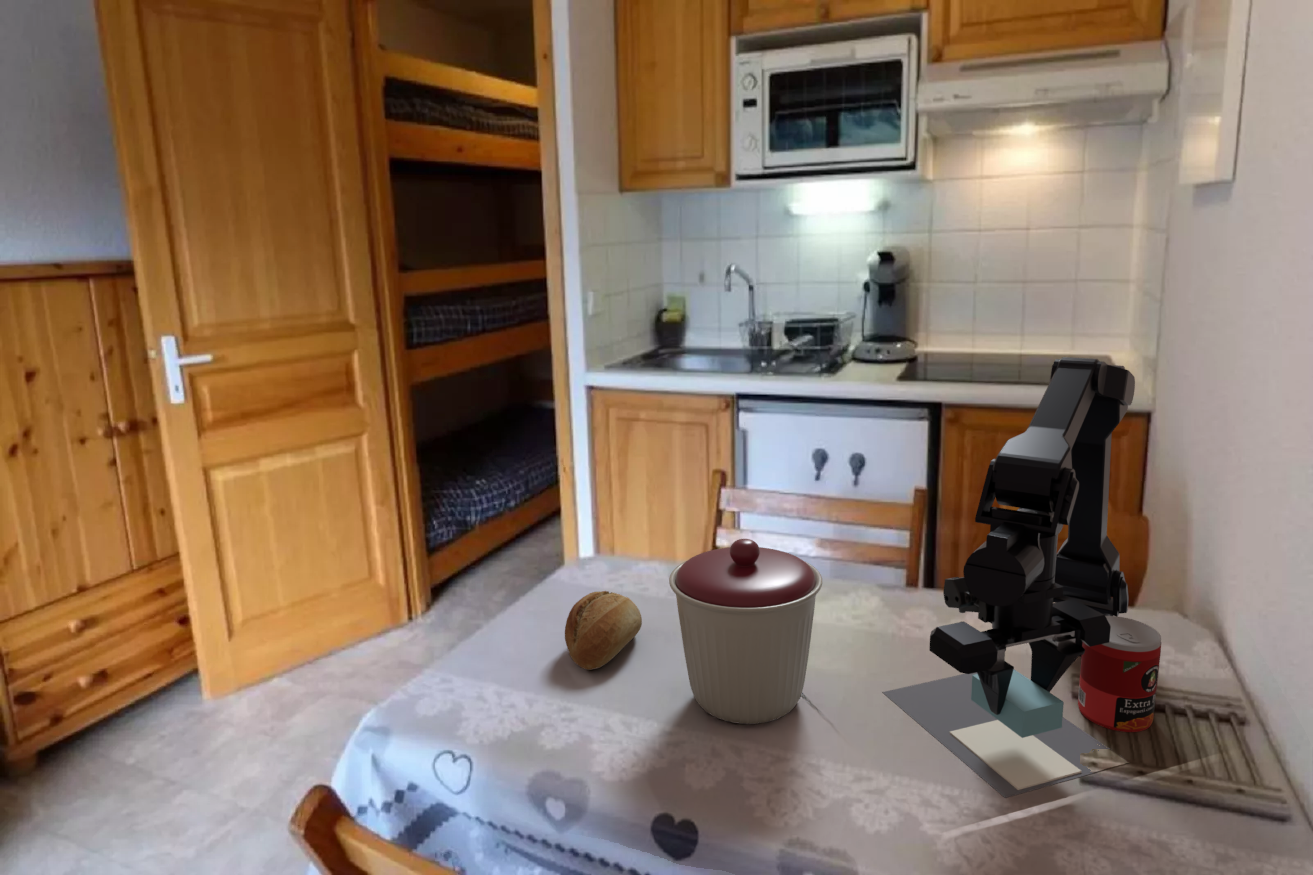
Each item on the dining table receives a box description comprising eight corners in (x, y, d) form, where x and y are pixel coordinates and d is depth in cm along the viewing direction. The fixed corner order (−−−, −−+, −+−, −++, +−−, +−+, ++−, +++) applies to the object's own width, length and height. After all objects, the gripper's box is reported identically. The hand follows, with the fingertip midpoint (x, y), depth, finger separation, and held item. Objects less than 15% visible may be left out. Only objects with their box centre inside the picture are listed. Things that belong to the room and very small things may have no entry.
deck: (1061, 727, 90) (1063, 701, 89) (1022, 737, 88) (1024, 711, 88) (1008, 690, 97) (1009, 666, 97) (971, 699, 96) (972, 675, 95)
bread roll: (549, 672, 116) (545, 617, 114) (592, 624, 130) (589, 574, 128) (616, 681, 113) (613, 625, 111) (653, 631, 127) (651, 580, 125)
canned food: (1124, 744, 95) (1133, 652, 93) (1061, 710, 102) (1068, 624, 100) (1168, 724, 99) (1178, 635, 96) (1104, 693, 106) (1112, 609, 103)
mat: (989, 671, 112) (990, 666, 112) (1130, 766, 91) (1130, 760, 91) (882, 695, 107) (882, 690, 107) (1004, 802, 87) (1005, 795, 86)
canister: (651, 727, 102) (644, 559, 97) (700, 657, 118) (696, 510, 113) (803, 756, 95) (804, 577, 90) (833, 678, 112) (835, 522, 107)
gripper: (1041, 534, 99) (1032, 658, 103) (900, 558, 94) (897, 688, 97) (1120, 567, 89) (1107, 704, 93) (967, 597, 83) (960, 741, 87)
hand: (1015, 707), depth 93 cm, fingers closed on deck, 5 cm apart
